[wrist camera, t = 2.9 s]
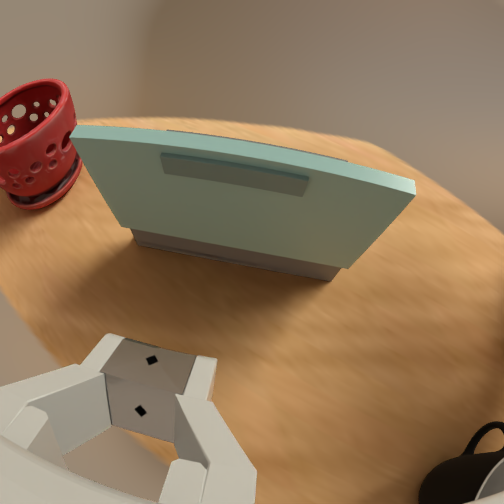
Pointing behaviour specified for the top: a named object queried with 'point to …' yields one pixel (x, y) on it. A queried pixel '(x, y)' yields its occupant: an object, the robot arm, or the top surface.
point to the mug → (466, 474)
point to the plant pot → (38, 145)
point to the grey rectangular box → (235, 253)
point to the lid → (241, 193)
